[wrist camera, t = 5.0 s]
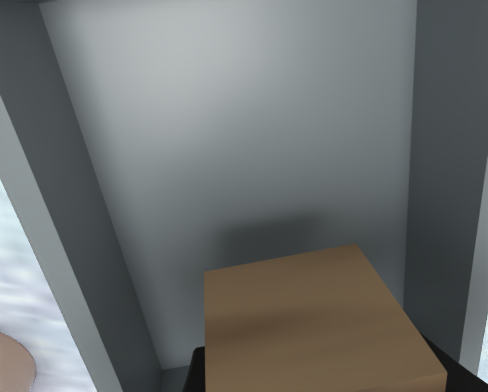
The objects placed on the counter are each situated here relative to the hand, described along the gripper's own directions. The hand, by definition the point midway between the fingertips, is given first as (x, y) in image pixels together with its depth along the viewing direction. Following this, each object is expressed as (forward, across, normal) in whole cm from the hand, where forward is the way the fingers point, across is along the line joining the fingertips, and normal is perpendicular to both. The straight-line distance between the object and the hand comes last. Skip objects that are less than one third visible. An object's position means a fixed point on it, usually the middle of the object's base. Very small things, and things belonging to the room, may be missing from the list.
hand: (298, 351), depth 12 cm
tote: (+6, 0, -3) cm, 6 cm away
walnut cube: (+2, 0, 0) cm, 2 cm away
